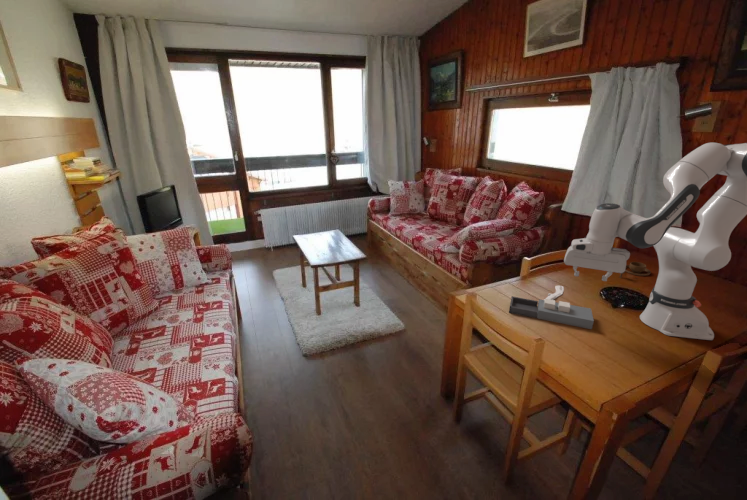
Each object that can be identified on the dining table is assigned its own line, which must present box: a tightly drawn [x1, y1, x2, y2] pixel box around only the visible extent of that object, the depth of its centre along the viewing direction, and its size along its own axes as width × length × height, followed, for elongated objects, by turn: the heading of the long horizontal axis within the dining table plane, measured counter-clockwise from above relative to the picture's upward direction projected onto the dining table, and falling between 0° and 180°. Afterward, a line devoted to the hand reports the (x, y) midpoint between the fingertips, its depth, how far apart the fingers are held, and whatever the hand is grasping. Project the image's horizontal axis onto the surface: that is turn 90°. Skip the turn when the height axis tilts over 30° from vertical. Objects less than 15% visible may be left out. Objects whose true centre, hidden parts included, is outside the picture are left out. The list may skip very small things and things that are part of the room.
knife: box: [543, 285, 565, 300], centre depth 161 cm, size 30×2×8 cm
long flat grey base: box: [536, 298, 595, 330], centre depth 140 cm, size 20×10×4 cm, turn 64°
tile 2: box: [557, 300, 571, 313], centre depth 139 cm, size 4×4×2 cm
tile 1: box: [543, 298, 556, 310], centre depth 142 cm, size 4×4×2 cm
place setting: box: [619, 261, 651, 280], centre depth 178 cm, size 18×20×6 cm
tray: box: [508, 296, 539, 319], centre depth 147 cm, size 11×10×3 cm
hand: (589, 278), depth 131 cm, fingers open, 8 cm apart
